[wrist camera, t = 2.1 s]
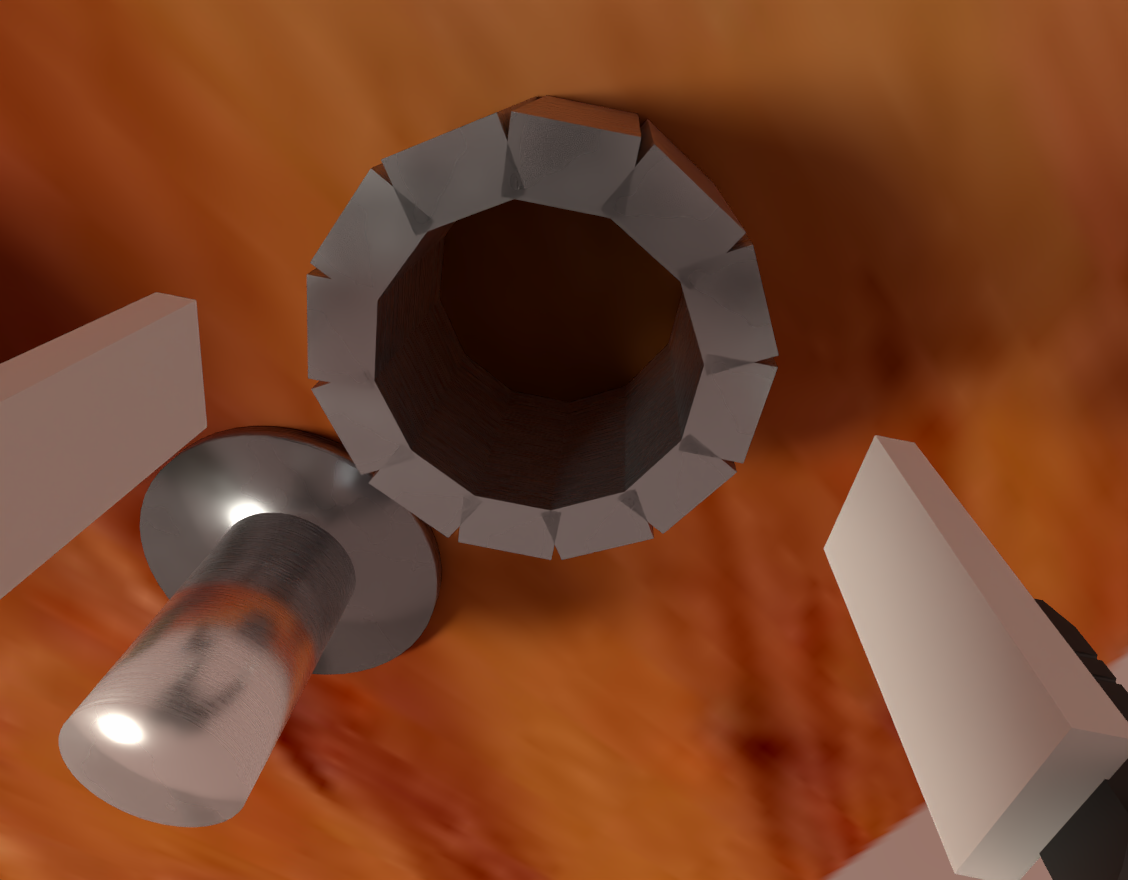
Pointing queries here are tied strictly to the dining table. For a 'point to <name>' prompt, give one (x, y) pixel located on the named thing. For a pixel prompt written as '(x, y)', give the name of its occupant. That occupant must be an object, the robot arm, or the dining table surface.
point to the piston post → (247, 618)
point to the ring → (522, 421)
